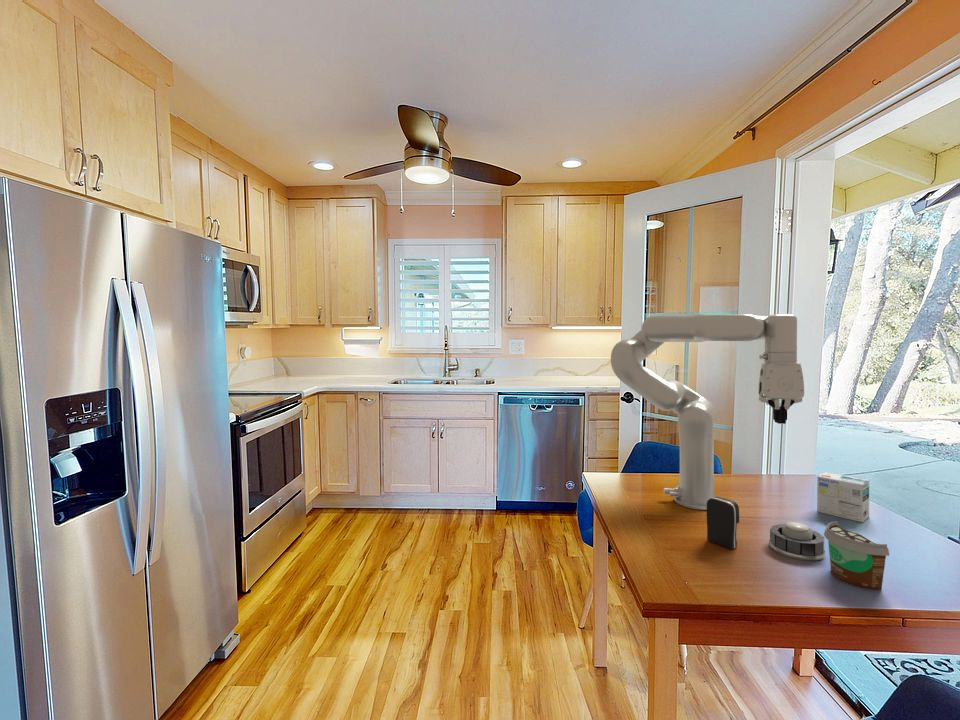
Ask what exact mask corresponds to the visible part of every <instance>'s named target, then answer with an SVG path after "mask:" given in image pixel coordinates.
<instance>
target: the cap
mask: <svg viewBox="0 0 960 720" xmlns="http://www.w3.org/2000/svg"><path fill="white" fill-rule="evenodd" d="M812 530H813V529H812V528H810V527H809V526H808V525H807V524H804V523H801V522H798V521H797V522H795V521H787V522H785V523H783V525H782V535H784V536H786V537H789V538H792V539H797V540H805V541H810V540H813V531H814V530H813V531H812Z"/></svg>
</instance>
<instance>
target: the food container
mask: <svg viewBox="0 0 960 720" xmlns="http://www.w3.org/2000/svg"><path fill="white" fill-rule="evenodd" d="M838 524H839V522H838V521H831V522H828V524H827V526H825V530H824V533H823V535H824V536H823V537H824V538H825V539H826V540H827V541H828V551H829V564H830V572H831V575H832V576H833V577H834V578H835V579H837V580H838V581H841V582H842V583H845V584H846V585H849V586H852V587H855V588H859V589H863V590H869V591H882V587H883V581H884V580H883V579H884V575H885V574H884V573H885V565H886V558H887V557H888V556H890V551H889V547H888V544H887V543H885V544H884V543H883V544H882V543H876V542H873V541H871V540H870V539H868V538H866V537H865V536H863V535H861V534H859V533H858V532H853V531H850V530H848V529H846V528H844V527H841V526H839V525H838Z"/></svg>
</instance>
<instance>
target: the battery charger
mask: <svg viewBox="0 0 960 720" xmlns="http://www.w3.org/2000/svg"><path fill="white" fill-rule="evenodd" d="M739 523H740V506H739V505H738V503H737V502H735V500H731V499H729V498H724V497H720V496H714V497H713V498H710V499H709V500H708V501H707V510H706V530H707V532H706V533H707V536H706V539H707V541H708V542H712V543H714V544H716V545H719V546H722V547H724V548H728V549H730V550H734V549H736V548H737V546H738V542H737V525H738V524H739Z"/></svg>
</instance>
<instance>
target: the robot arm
mask: <svg viewBox="0 0 960 720" xmlns="http://www.w3.org/2000/svg"><path fill="white" fill-rule="evenodd" d="M759 340H764V352H763V354H759V360H763V363H761V366H760V373H759V378H758V395H759V397H758V401H759V402H761V403H765V404H768V406H770V407H771V409H772V419H773V420H774V423H777V424H778V425H779V424H780V425H781V424H783V425H786V423H787V420H788V410H789V409H790V408H791V407H792V406H793V405H794V404H798V403H802V402H803V398H804V397H805V383H804V381H805V380H804V374H803V368H802V365H801V363H799V362H798V352H797V351H798V318H797V316H796V315H794V314H791V313H783V314H780V313H778V314H770V315H767V316H766V315H754V314H751V313H750V314H717V315H716V314H697V313H695V314H694V313H693V314H658V315H657V314H655V315H650V316H648V317H647V318H646V319H644V321H643V322H642V325H641V329H640V330H639V331H638V332H636V334H635V335H633V336H632V337H630V339H623V340H620V341H618V342H617V343H616V344H615V345H614V346H613V348H612V350H611V353H610V366H611V369H612V370H613V372H614V375H615V376H616V377H617V378H618V380H620V381H621V382H622V384H625V386H627V387H628V388H630V389H631V390H633V392H636V394H638V395H639V396H641V397H642V398H643V399H644V400H646V401H648V402H649V403H651V404H652V406H655V408H658V410H660V411H663V412H670V411H672V412H674V414H676V415H678V418H677V420H678V421H677V424H678V425H677V426H678V437H679V440H678V441H679V484H676V486H677V487H673V488H671V487H664V488H663V494H664V495H669V496H670V497H674V502H676V504H678V505H680V506H681V507H684V508H687V509H693V510H699V511H701V510H702V511H707V501H708V500H709V499H710V498H713V497H715V494H714V493H715V492H714V489H715V488H714V487H715V486H714V483H715V480H714V478H715V475H714V474H715V473H714V470H715V469H714V465H715V463H714V457H715V456H714V452H715V451H714V423H715V421H716V420H717V419H716V418H717V410H716V407H715V406H714V404H713V403H712V402H711V401H709V400H708V399H706V398H705V397H704V396H701V395H700V394H699V393H697V392H696V391H694V390H693V389H691V388H690V387H688V386H686V385H685V384H684V383H682V382H680V381H678V380H675V379H665V378H662V377H661V376H659V375H658V374H656V373H655V372H654V371H652V370H651V369H649V368H648V367H646V366H644V365H643V364H641V362H642V361H645V360H646V359H647V358H648V357H649V356H650V355H651V354H653V352H656V350H657V349H659V348H660V347H661V346H662V345H663V344H664V343H670V342H671V343H704V342H752V341H759ZM780 400H781V401H780Z"/></svg>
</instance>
